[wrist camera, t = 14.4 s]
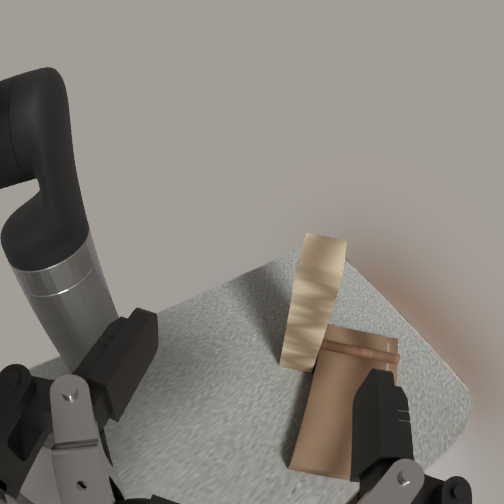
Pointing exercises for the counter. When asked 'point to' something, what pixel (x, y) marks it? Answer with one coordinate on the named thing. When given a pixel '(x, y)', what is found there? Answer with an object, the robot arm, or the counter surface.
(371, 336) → the walnut board
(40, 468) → the light bulb
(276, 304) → the counter surface
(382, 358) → the l-shaped wooden block
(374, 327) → the counter surface
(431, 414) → the counter surface
